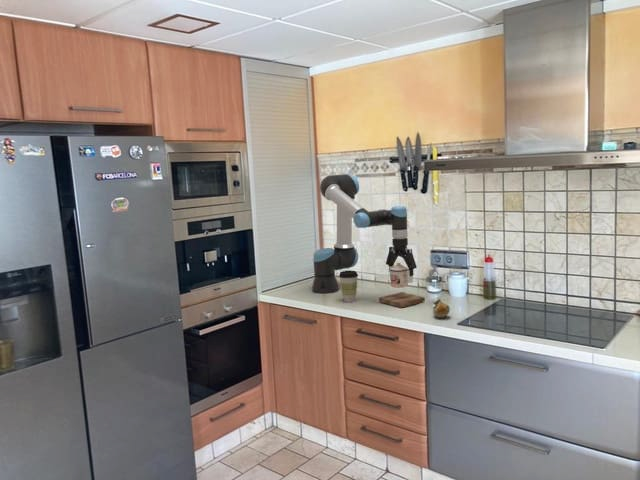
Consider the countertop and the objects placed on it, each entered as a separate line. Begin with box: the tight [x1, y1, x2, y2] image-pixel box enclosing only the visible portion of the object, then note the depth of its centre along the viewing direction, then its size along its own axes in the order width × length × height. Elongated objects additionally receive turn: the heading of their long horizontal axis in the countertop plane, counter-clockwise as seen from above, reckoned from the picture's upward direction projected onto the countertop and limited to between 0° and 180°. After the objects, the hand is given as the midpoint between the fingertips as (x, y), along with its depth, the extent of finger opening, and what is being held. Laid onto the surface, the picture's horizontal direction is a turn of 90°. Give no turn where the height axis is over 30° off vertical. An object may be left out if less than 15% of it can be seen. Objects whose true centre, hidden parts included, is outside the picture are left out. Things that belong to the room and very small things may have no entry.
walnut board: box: [378, 291, 426, 309], centre depth 264 cm, size 16×16×2 cm
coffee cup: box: [338, 270, 359, 303], centre depth 272 cm, size 10×10×15 cm
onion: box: [432, 298, 451, 319], centre depth 235 cm, size 8×8×8 cm
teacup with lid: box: [389, 262, 409, 289], centre depth 262 cm, size 12×9×12 cm
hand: (401, 280), depth 263 cm, fingers closed on teacup with lid, 12 cm apart
